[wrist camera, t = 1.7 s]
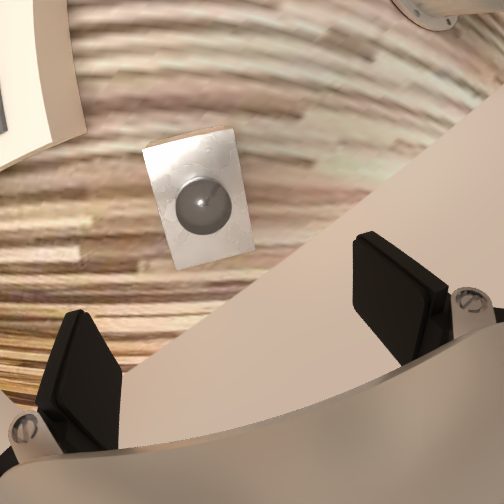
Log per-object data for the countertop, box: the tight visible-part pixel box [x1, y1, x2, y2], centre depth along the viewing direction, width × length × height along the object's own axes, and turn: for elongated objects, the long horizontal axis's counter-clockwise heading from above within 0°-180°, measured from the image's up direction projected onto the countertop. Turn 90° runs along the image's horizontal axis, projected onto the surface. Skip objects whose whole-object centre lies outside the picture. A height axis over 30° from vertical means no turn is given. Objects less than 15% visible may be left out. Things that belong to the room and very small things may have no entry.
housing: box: [143, 125, 255, 270], centre depth 23 cm, size 6×9×7 cm, turn 10°
